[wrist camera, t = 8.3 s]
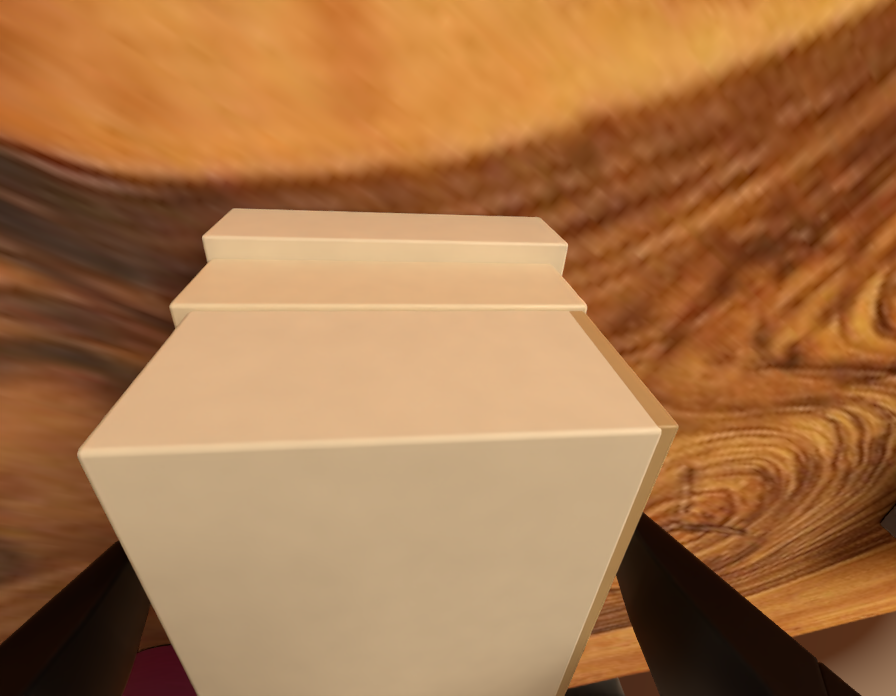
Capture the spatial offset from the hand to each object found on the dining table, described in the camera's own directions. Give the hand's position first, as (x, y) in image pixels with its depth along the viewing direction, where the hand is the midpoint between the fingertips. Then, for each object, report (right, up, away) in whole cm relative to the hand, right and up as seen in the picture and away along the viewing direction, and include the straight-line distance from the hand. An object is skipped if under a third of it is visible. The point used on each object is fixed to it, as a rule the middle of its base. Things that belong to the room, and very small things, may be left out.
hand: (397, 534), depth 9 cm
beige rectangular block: (0, 0, +1) cm, 1 cm away
